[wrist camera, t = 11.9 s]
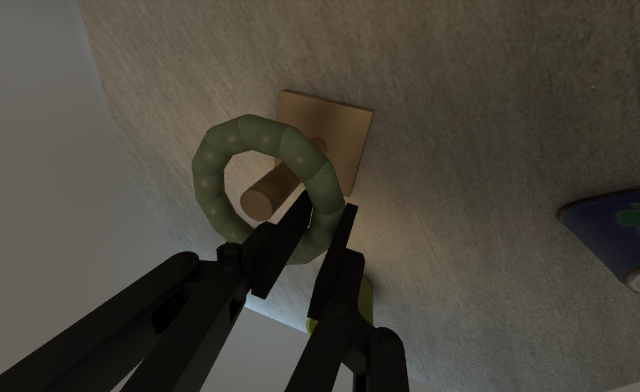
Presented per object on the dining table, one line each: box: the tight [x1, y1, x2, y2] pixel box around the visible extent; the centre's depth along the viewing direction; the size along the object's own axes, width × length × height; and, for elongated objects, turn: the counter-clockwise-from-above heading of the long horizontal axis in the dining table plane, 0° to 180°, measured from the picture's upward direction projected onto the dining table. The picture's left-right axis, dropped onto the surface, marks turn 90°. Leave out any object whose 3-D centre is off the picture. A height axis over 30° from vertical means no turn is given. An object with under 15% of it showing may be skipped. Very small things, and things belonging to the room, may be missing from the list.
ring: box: [192, 114, 346, 265], centre depth 16 cm, size 11×11×2 cm
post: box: [240, 89, 375, 221], centre depth 21 cm, size 10×10×14 cm
